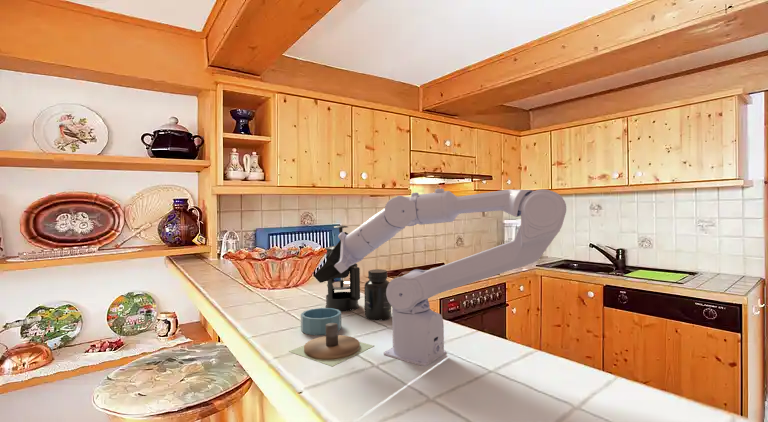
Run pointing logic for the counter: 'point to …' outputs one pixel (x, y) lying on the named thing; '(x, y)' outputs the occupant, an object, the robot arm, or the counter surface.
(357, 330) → the counter surface
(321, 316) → the teal bowl
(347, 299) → the french press
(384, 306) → the supplement bottle
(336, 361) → the sage mat
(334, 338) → the walnut lid
